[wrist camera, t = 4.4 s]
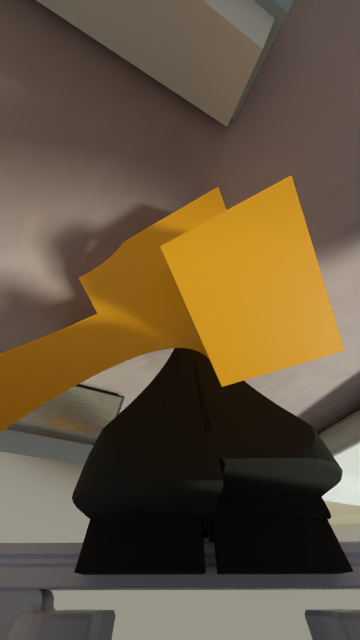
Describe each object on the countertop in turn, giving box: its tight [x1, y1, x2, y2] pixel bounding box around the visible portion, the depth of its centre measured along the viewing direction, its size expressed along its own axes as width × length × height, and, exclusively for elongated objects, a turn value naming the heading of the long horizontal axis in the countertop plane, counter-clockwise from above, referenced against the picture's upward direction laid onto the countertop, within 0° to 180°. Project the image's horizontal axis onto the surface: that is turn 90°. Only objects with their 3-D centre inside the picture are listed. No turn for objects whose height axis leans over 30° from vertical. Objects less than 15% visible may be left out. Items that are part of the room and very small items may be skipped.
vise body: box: [0, 385, 124, 465], centre depth 13 cm, size 10×4×4 cm, turn 67°
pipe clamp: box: [0, 175, 345, 433], centre depth 7 cm, size 12×4×6 cm, turn 116°
